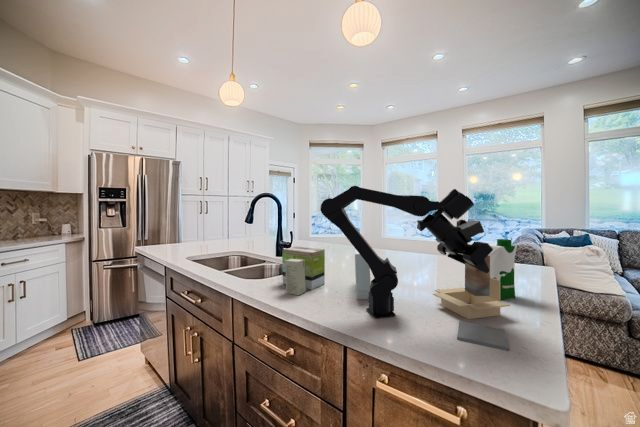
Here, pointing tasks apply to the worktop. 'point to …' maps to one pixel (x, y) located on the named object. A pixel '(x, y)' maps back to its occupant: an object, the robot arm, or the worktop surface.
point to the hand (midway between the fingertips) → (481, 269)
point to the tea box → (307, 264)
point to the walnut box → (477, 280)
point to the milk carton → (503, 267)
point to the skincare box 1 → (295, 276)
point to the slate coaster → (482, 335)
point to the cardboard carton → (472, 301)
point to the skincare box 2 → (362, 277)
